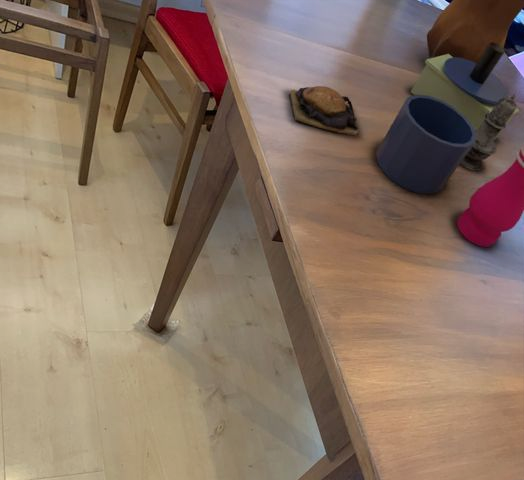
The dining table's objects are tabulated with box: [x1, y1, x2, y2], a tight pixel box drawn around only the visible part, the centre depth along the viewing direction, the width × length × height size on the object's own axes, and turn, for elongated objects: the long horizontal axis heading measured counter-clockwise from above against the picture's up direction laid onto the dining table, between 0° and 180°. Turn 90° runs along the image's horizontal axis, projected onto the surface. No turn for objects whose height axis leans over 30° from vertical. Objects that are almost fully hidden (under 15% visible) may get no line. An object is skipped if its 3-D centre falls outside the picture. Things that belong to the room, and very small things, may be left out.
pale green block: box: [410, 54, 521, 141], centre depth 98 cm, size 17×8×6 cm, turn 44°
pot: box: [375, 94, 477, 195], centre depth 82 cm, size 11×11×8 cm
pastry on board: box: [289, 85, 359, 136], centre depth 85 cm, size 11×8×4 cm
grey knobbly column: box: [459, 93, 517, 171], centre depth 88 cm, size 6×6×12 cm
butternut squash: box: [426, 0, 524, 63], centre depth 100 cm, size 14×13×25 cm
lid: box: [443, 42, 509, 104], centre depth 93 cm, size 12×12×7 cm
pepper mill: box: [456, 144, 524, 248], centre depth 74 cm, size 7×7×20 cm
